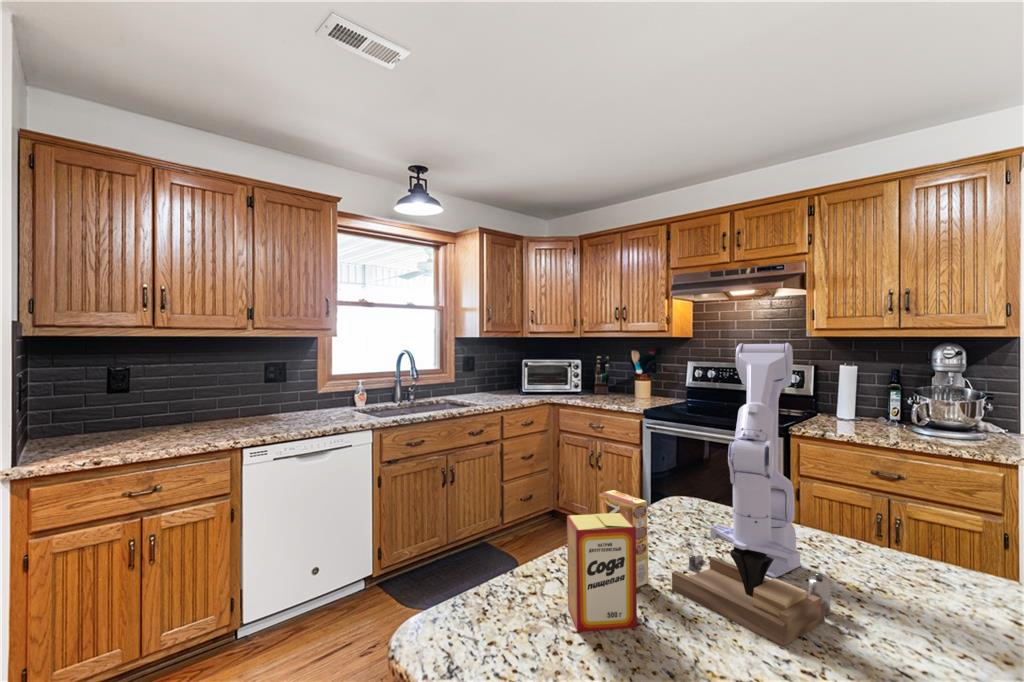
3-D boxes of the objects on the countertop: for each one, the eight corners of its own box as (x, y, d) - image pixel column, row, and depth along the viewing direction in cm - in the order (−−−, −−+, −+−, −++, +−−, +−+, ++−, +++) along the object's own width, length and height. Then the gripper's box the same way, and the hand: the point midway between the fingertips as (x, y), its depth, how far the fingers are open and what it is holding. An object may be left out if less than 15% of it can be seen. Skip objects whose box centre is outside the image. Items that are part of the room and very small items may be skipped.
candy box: (649, 583, 90) (648, 500, 90) (633, 590, 88) (632, 504, 88) (614, 566, 98) (613, 489, 98) (599, 571, 95) (598, 492, 95)
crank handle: (697, 559, 101) (697, 546, 101) (703, 561, 100) (703, 547, 100) (688, 570, 96) (688, 556, 96) (694, 572, 95) (694, 558, 95)
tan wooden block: (775, 602, 81) (775, 578, 81) (807, 616, 77) (806, 590, 77) (753, 613, 78) (752, 588, 78) (784, 628, 74) (784, 602, 74)
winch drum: (814, 604, 83) (814, 568, 83) (834, 612, 80) (833, 575, 80) (805, 609, 81) (804, 572, 81) (824, 617, 79) (824, 580, 79)
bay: (713, 572, 95) (713, 551, 95) (825, 621, 78) (824, 595, 78) (672, 589, 88) (671, 566, 88) (783, 646, 71) (782, 618, 71)
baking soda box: (577, 632, 75) (576, 527, 76) (568, 609, 82) (567, 513, 82) (636, 627, 76) (635, 524, 76) (623, 605, 83) (621, 510, 83)
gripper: (699, 504, 86) (700, 582, 85) (782, 531, 73) (783, 622, 73) (723, 497, 89) (724, 572, 89) (806, 521, 77) (808, 608, 77)
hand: (752, 594), depth 82 cm, fingers closed
